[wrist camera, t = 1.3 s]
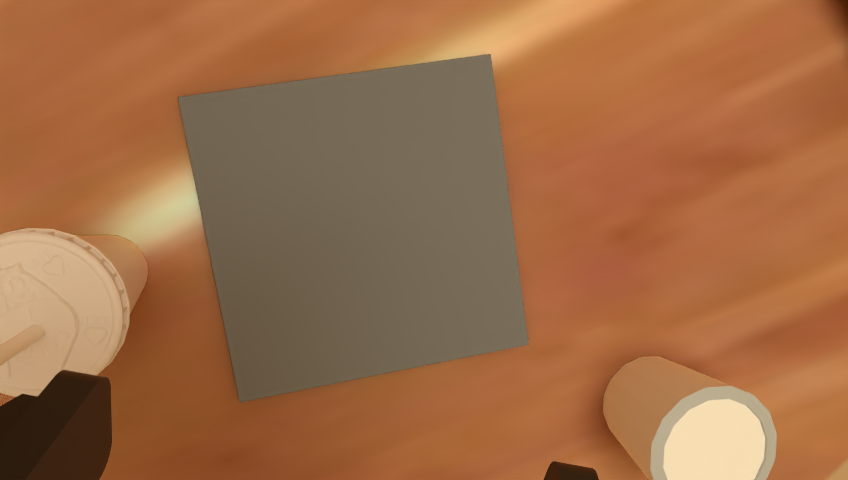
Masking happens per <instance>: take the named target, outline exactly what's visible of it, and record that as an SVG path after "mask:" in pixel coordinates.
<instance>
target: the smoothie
mask: <svg viewBox="0 0 848 480" xmlns="http://www.w3.org/2000/svg"><path fill="white" fill-rule="evenodd" d="M147 278H148V266H147V262H146V259H145V257H144V255H143V253H142V252H141V250H140V249H139V248H138V247H137V246H136V245H135V244H133V243H132V242H131V241H129V240H127V239H125V238H122V237H119V236H114V235H80V236H76V235H72V234H69V233H65V232H62V231H58V230H55V229H44V228H25V229H20V230H16V231H11V232H6V233H3V234H1V235H0V393H2V394H5V395H9V396H14V397H17V396H19V395H21V394H27V395H32V396H39V394H40V393H41V392H42V391H43V390H44V388H45V387H46V386H47V385H48V384H49V382H50V381H51V380H52V379H53V378H54V376H55V375H56V374H57V373H59V372H60V371H62V370H69V371H74V372H80V373H85V374H91V375H96V376H97V375H98V374H99V373H100V372H101V371H102V370H103V369H104V368H106V367H107V366H108V365H109V364H110V363H111V362H112V361H113V359H114V358H115V356H116V355H117V353H118V352H119V350H120V348H121V347H122V345H123V344H124V340H125V337H126V334H127V330H128V327H129V324H130V313H131V311H132V309H133V308H134V306H135V304H136V302H137V300H138V298H139V296H140V294H141V292H142V291H143V289H144V287H145V285H146V282H147Z"/></svg>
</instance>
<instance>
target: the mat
mask: <svg viewBox="0 0 848 480" xmlns="http://www.w3.org/2000/svg"><path fill="white" fill-rule="evenodd" d="M178 101H179V106H180V111H181V116H182V121H183V126H184V131H185V135H186V140H187V145H188V150H189V155H190V160H191V165H192V170H193V175H194V180H195V185H196V190H197V194H198V199H199V204H200V209H201V214H202V219H203V224H204V229H205V234H206V239H207V244H208V249H209V253H210V258H211V263H212V268H213V273H214V278H215V283H216V288H217V293H218V298H219V303H220V308H221V313H222V317H223V322H224V327H225V332H226V337H227V342H228V347H229V352H230V357H231V362H232V367H233V372H234V376H235V381H236V386H237V391H238V396H239V401H240V402H245V401H250V400H255V399H260V398H265V397H270V396H275V395H280V394H285V393H290V392H295V391H300V390H305V389H310V388H315V387H320V386H325V385H330V384H335V383H340V382H345V381H350V380H355V379H360V378H365V377H370V376H375V375H380V374H385V373H390V372H395V371H400V370H405V369H410V368H415V367H420V366H425V365H430V364H435V363H440V362H445V361H450V360H455V359H460V358H464V357H469V356H474V355H479V354H484V353H489V352H494V351H499V350H504V349H509V348H514V347H519V346H524V345H529V344H528V336H527V328H526V321H525V313H524V305H523V298H522V290H521V283H520V275H519V267H518V260H517V252H516V244H515V237H514V229H513V221H512V214H511V206H510V199H509V191H508V183H507V176H506V168H505V160H504V153H503V145H502V137H501V130H500V122H499V115H498V107H497V99H496V92H495V84H494V76H493V69H492V61H491V54H487V55H480V56H473V57H466V58H458V59H451V60H444V61H437V62H429V63H422V64H415V65H408V66H400V67H393V68H386V69H378V70H371V71H364V72H357V73H349V74H342V75H335V76H328V77H320V78H313V79H306V80H299V81H291V82H284V83H277V84H269V85H262V86H255V87H248V88H240V89H233V90H226V91H219V92H211V93H204V94H197V95H190V96H182V97H178Z"/></svg>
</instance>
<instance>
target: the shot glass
mask: <svg viewBox="0 0 848 480" xmlns="http://www.w3.org/2000/svg"><path fill="white" fill-rule="evenodd" d="M603 414H604V417H605V420H606V422H607V425H608V428H609V430H610V431H611V432H612V433H613V435H614V436H615V437H616V439H617V440H618V441H619V442H620V444H621V445H622V446H623V448H624V449H625V450H626V451H627V453H628V454H629V455H630V457H631V458H632V459H633V460H634V462H635V463H636V464H637V466H638V467H639V468H640V469H641V471H642V472H643V473H644V475H645V476H646V477H647V478H648V480H766V479H767V477H768V474H769V472H770V470H771V468H772V466H773V464H774V461H775V454H776V441H777V434H776V431H775V427H774V424H773V421H772V418H771V415H770V412H769V411H768V410H767V409H766V408H765V407H764V405H763V404H762V403H761V402H760V401H759V400H758V399H757V398H756V397H755V396H754V395H753V394H751V393H748V392H746V391H743V390H741V389H738V388H736V387H733V386H731V385H729V384H726V383H724V382H721V381H719V380H716V379H714V378H711V377H709V376H707V375H704V374H702V373H699V372H697V371H694V370H692V369H689V368H687V367H684V366H682V365H680V364H677V363H675V362H672V361H670V360H667V359H664V358H662V357H659V356H648V357H639V358H637V359H635V360H633V361H631V362H629V363H626V364H624V365H623V366H622V367H621V368H620V369H619V370H618V371H617V372H616V373H615V375H614V376H613V377H612V378H611V379H610V382H609V384H608V386H607V389H606V391H605V393H604V400H603Z"/></svg>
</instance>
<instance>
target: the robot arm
mask: <svg viewBox="0 0 848 480" xmlns="http://www.w3.org/2000/svg"><path fill="white" fill-rule="evenodd" d="M111 443H112V426H111V386H110V381H109V379H108V378H106V377H101V376H96V375H91V374H85V373H80V372H74V371H69V370H62V371H60V372H59V373H57V374H56V375H55V376H54V378H53V379H52V380H51V381H50V382H49V384H48V385H47V386H46V387H45V388H44V390H43V391H42V392H41V393H40V394H39V396H32V395H27V394H21V395H19V396H17V397H16V398H14V399H12V400H11V401H9V402H7V403H5V404H4V405H2V406H0V480H99V479H100V477H101V475H102V473H103V471H104V469H105V466H106V464H107V461H108V458H109V454H110V450H111ZM544 480H599V479H598V476H597V473H596V471H595V470H594V469H593V468H588V467H582V466H577V465H571V464H566V463H560V462H555V461H553V462H552V463H551V464H550V466H549V468H548V470H547V473H546V475H545V478H544Z"/></svg>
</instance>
